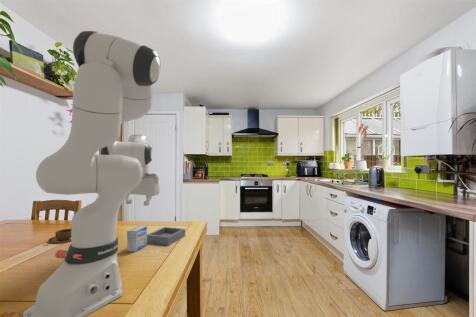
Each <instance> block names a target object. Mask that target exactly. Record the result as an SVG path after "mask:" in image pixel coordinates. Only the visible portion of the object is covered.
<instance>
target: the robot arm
mask: <svg viewBox="0 0 476 317" xmlns="http://www.w3.org/2000/svg"><path fill="white" fill-rule="evenodd" d="M72 43H73V44H72V53H73V57H74V60H75V61H76V64H77V66H78V68H77V72H76V76H75V80H74V85H73V90H72V91H73V93H72V111H71V112H72V118H71V127H70V132H69V135H68V137H67V140H66V141H65V143H64V144H63V145H62V146H61V147H60V148H59V149H58V150H56V152H53V153H52V154H51V155H49V156H47V157H45V158H44V159H43V160H42V161H41V162H40V163H39V164H38V166H37V169H36V171H35V172H36V173H35V179H36V183H37V184H38V186H39V187H40V189H42V191H43V192H45V193H47V194H54V195H55V194H56V195H63V196H64V195H65V196H66V195H67V196H68V195H82V194H83V195H85V194H98V195H97V198H96V199H95V200H94V201H93V202H92V203H90V204H87V205H85V206H83V207H82V208H80V209H79V210H78V211H76V212H75V213H74V214H73V216H72V217H71V221H70V223H71V228H70V229H71V238H70V240H71V242H70V244H69V247H68V249H67V250H64V249H58V250H56V252H55V253H54V257H55V258H58V259H61V260H62V259H63V262H62V264H60V265H59V267H58V268H57V269H55V271H54V272H52V273H51V275H50V276H49V277H48V278H47V279H46V280H45V281H44V282H43V283H42V284H41V285H40V286H39V288H38V291H37V294H36V297H35V303H34V304H33V305H31V306H30V307H28V308H26V309H25V310H24V311H23V313H22V317H86V316H87V315H89V314H91V313H94V312H95V311H97V310H99V309H100V308H103V307H105V306H106V305H108V304H110V303H112V302H113V301H115V300H116V299H118V298H121V297H122V296H123V289H122V288H123V281H122V279H121V278H122V277H121V274H120V269H119V261H118V260H119V259H118V253H117V252H118V251H119V238H118V236H117V227H118V218H119V217H118V216H119V210H120V207H121V205H122V204H123V202H124V201H125V204H126V205H131V204H132V199H131V198H130V195H137V196H138V195H139V196H145V198H146V199H145V201H143V206H145V207H149V206H150V201H151V199H152V198H153V197H156V196H158V195H159V194H160V182H159V176H158V175H157V174H156V173H150V169H149V168H150V166H149V164H150V163H151V162H152V161H153V158H152V156H153V155H152V154H153V153H152V151H153V148H152V146H150V144H149V140H148V137H147V136H146V135H143V134H131V135H129V136H128V140H127V141H118V139H119V138H120V136H121V129H122V128H121V127H122V124H123V123H126V122H131V121H133V120H137V119H141V118H142V117H144V116H145V115H147V114H148V113H149V112H150V110H151V108H152V106H153V85H154V84H156V82H157V81H158V79H159V77H160V73H161V60H160V57H159V55H158V53H157V52H156V51H155V50H154V49H152V48H151V47H149V46H146V45H141V44H138V43H136V42H134V41H131V40H127V39H124V38H122V37H120V36H116V35H111V34H108V33H107V34H106V33H100V32H98V31H95V30H94V31H93V30H83V31H81V32H79V33H78V35H76V37H75V39H74V40H73V42H72ZM98 151H99V154H97V152H98Z"/></svg>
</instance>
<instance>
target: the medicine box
mask: <svg viewBox="0 0 476 317" xmlns="http://www.w3.org/2000/svg"><path fill="white" fill-rule="evenodd" d="M147 235H148V227H147V226H146V225H138V226H135V227H133V228H132V229H128V230H127V231H126V251H127V252H134V253H135V252H139V251H140V250H142V249H143V248H145V247H146V246H148V243H147Z"/></svg>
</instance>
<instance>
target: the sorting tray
mask: <svg viewBox="0 0 476 317" xmlns="http://www.w3.org/2000/svg"><path fill="white" fill-rule="evenodd" d="M185 237H186V229H185V228H181V227H179V228H178V227H170V226H164V227H161V228H159V229H157V230H154V231H153V232H150V233H147V244H155V245H163V246H168V247H169V246H171V245H172V244H174V243H176V242H177V241H179V240H180V239H182V238H185Z"/></svg>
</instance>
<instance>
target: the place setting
mask: <svg viewBox="0 0 476 317" xmlns="http://www.w3.org/2000/svg"><path fill="white" fill-rule="evenodd" d="M54 240H58V241H54ZM51 243H52V245H59V244H66V243H71V228H66V229H65V228H64V229H59V230H56V231H55V236H52V237H50V238H48V243H46V244H42V246H43V247H45V246H46V247H47V246H49V244H51Z"/></svg>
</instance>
